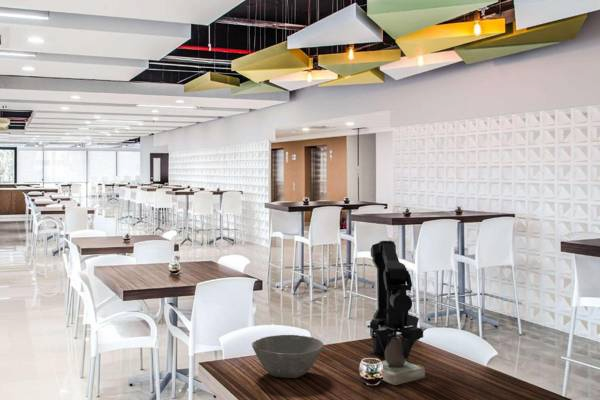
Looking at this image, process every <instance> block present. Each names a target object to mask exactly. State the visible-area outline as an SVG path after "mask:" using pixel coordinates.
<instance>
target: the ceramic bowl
mask: <svg viewBox="0 0 600 400" xmlns="http://www.w3.org/2000/svg"><path fill="white" fill-rule="evenodd" d="M251 346H252V348H253V351H254V353H255V355H256V357H257V359H258V361H259V362H260V364H261V365H262V367H263V368H264V370H265V371H266V372H267V374H268V375H270V376H272V377H275V378H282V379H285V378H286V379H297V378H300V377H302V376H303V375H306V374H307V372H309V371H310V369H311V368H312V367H313V365H314V364H315V363H316V361H317V360H318V359H319V356H320V354H321V352H322V351H323V349H324V343H323V342H322V341H321V340H319V339H317V338H315V337H311V336H306V335H298V334H279V335H270V336H265V337H261V338H259V339H257V340H255V341H253V342H252V343H251Z"/></svg>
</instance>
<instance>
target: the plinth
mask: <svg viewBox="0 0 600 400" xmlns="http://www.w3.org/2000/svg"><path fill="white" fill-rule="evenodd" d="M380 361H381V362H382V364H383V379H382V380H381V381H384V382H386V383H388V384H390V385H394V386H397V385H401V384H406V383H409V382H413V381H416V380H421V379H425V378H426V367H423V366H421V365H418V364H414V363H411V362H409V361H407V360H406V361H405V363H404V365H403V366H401V367H392V366H390V365H389V364H388V363H387V362H386V359H385V360H380Z"/></svg>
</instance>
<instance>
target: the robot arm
mask: <svg viewBox="0 0 600 400" xmlns="http://www.w3.org/2000/svg"><path fill="white" fill-rule="evenodd" d="M396 245H397V244H396V243H395V240H394V241H393V240H381V241H379V242H378V243H375V244H372V245H371V248H370V257H371V258H372V262H373V264H374V266H375V268H376V293H377V294H376V298H377V299H376V300H377V301H376V303H377V304H376V307H377V308H376V311H375V312H374V314H373V316H372V319H371V320H370V322H369V333H370V334H369V335H370V337H371V339H373V350H372V351H370V354H372V355H374V356H377V357H381V358H385V349H386V346H387V345H388V344H389V342H390V341H391V339H392V338H393V337H397V333H400V335H401V338H400V340H401V344H402V350H403V355H404V359H406V360H407V359H408V358H409V356H410V353H411V352H412V351H411V350H412V349H413V348H412V347H413V346H414V344H415V343H416V341H419V340H420V339H422V338H424V330H423V329H422V327H418V323H419V319H420V317H417V316H414V315H412V314H409V312H410V310H411V309H412V306H413V301H412V299H411V298H412V297H410V296H409V295H408V294H407V291H411V290H412V287H413V282H412V278H411V274H410V272H409V270H407V267H406V265H405V264H404V263H402V262H400V260H399V258H398V253H397V246H396Z"/></svg>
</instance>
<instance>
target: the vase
mask: <svg viewBox="0 0 600 400" xmlns="http://www.w3.org/2000/svg"><path fill="white" fill-rule="evenodd" d="M384 359H385V360H386V362H387V363H388V364H389V365H390V366H392V367H401V366H403V365H404V363H405V361H406V362H407V359H404V355H403V350H402V344H401V338H400V337H399V336H396V337H393V338H392V339H391V341H390V342H389V344H388V345H387V346H386V349H385V357H384Z"/></svg>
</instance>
